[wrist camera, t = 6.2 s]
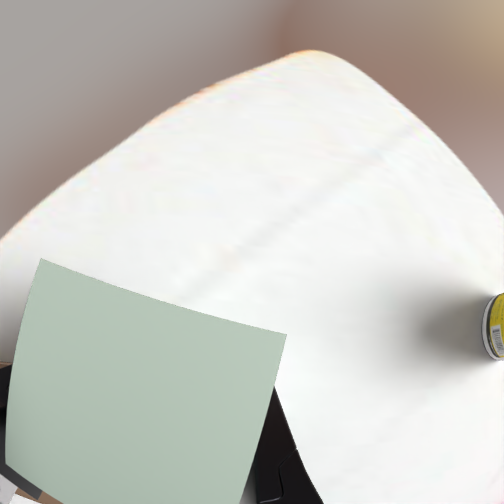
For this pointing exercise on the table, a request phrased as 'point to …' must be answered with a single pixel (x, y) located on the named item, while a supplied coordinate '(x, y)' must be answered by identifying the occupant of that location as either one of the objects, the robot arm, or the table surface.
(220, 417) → the tall block
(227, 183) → the table surface
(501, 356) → the supplement bottle
